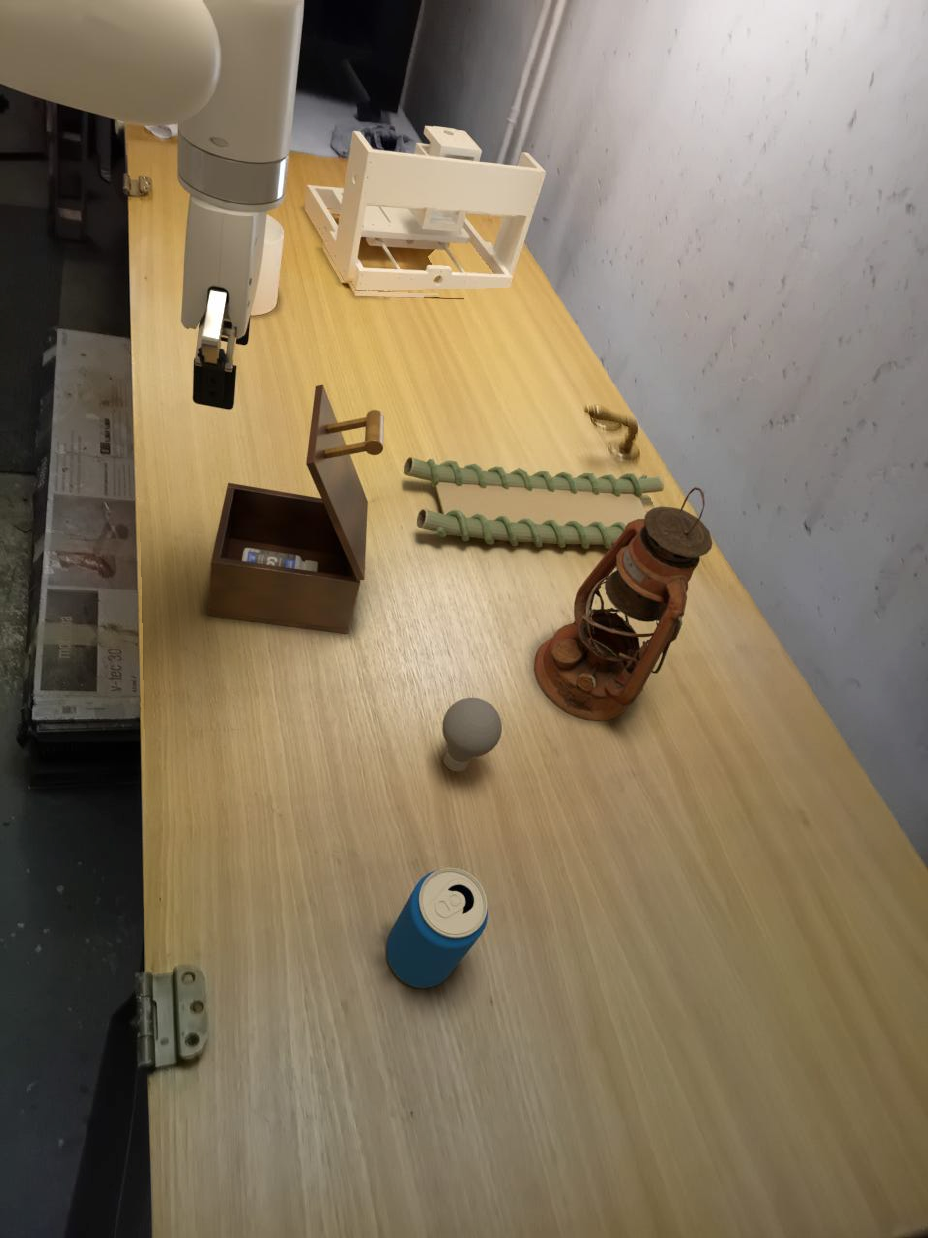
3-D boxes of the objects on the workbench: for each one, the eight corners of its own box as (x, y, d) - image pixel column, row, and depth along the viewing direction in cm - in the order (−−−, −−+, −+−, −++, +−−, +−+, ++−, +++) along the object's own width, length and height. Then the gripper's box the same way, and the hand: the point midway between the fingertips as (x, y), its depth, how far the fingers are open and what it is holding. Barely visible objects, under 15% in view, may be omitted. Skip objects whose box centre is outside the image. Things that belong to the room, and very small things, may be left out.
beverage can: (468, 966, 74) (508, 917, 65) (408, 1005, 70) (442, 958, 62) (430, 904, 77) (464, 849, 68) (371, 938, 73) (398, 885, 64)
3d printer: (455, 218, 176) (483, 87, 157) (519, 300, 159) (558, 165, 140) (296, 213, 161) (306, 69, 142) (348, 303, 145) (366, 153, 126)
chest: (208, 615, 91) (211, 561, 85) (224, 537, 99) (228, 482, 93) (347, 634, 95) (360, 583, 88) (352, 556, 103) (364, 505, 97)
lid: (305, 463, 76) (374, 450, 75) (315, 385, 84) (377, 372, 83) (357, 581, 88) (417, 571, 87) (361, 503, 96) (416, 493, 95)
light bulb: (488, 783, 87) (517, 733, 80) (435, 791, 85) (460, 740, 77) (472, 735, 90) (498, 683, 83) (420, 741, 88) (443, 688, 81)
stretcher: (415, 549, 107) (424, 522, 103) (398, 476, 115) (405, 448, 112) (681, 559, 120) (697, 535, 117) (647, 492, 129) (661, 468, 125)
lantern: (515, 624, 103) (609, 434, 81) (605, 620, 108) (715, 440, 86) (559, 740, 93) (678, 558, 71) (655, 730, 98) (795, 557, 76)
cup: (280, 286, 139) (288, 217, 131) (272, 322, 132) (280, 251, 123) (209, 270, 137) (212, 198, 128) (197, 306, 129) (199, 231, 120)
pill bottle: (242, 549, 90) (319, 560, 92) (245, 545, 95) (317, 556, 97) (237, 591, 91) (313, 601, 93) (239, 586, 95) (312, 595, 97)
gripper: (198, 108, 63) (193, 310, 75) (153, 205, 52) (156, 423, 64) (296, 134, 65) (276, 327, 77) (274, 234, 53) (254, 441, 66)
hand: (221, 371), depth 71 cm, fingers open, 9 cm apart
